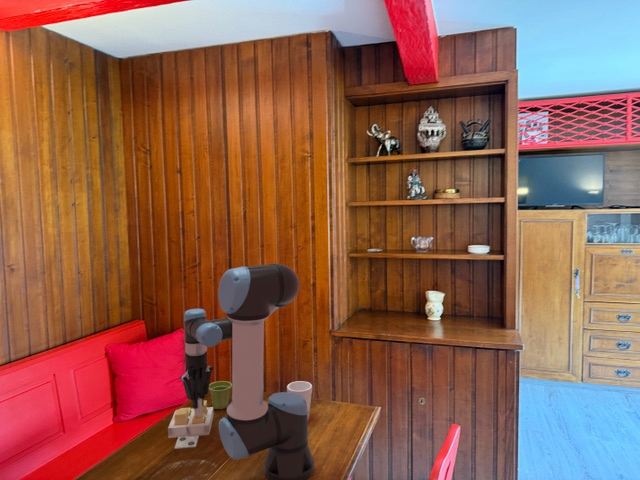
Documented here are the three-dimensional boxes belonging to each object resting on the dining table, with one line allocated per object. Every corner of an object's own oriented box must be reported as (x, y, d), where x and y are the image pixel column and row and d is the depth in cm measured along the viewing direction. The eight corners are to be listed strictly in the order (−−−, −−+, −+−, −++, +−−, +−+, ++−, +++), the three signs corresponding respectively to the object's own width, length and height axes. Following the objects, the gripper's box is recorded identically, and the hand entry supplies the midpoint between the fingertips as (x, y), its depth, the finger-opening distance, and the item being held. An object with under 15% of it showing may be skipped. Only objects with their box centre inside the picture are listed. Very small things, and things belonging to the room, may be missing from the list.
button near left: (186, 424, 155) (186, 414, 155) (175, 425, 155) (174, 414, 154) (188, 419, 159) (188, 408, 159) (177, 420, 158) (176, 409, 158)
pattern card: (195, 447, 147) (195, 445, 146) (174, 449, 146) (174, 447, 146) (198, 436, 153) (198, 434, 153) (178, 438, 153) (178, 436, 152)
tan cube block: (189, 422, 161) (189, 412, 161) (178, 423, 161) (178, 413, 160) (191, 417, 165) (190, 407, 165) (180, 418, 165) (180, 408, 164)
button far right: (205, 415, 162) (205, 405, 161) (194, 416, 161) (194, 405, 161) (207, 410, 166) (206, 400, 165) (196, 411, 165) (196, 401, 165)
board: (209, 434, 154) (208, 425, 154) (168, 438, 153) (167, 428, 152) (213, 415, 168) (213, 406, 168) (176, 418, 166) (175, 409, 166)
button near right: (204, 429, 156) (203, 418, 156) (192, 430, 156) (192, 419, 155) (205, 423, 160) (205, 413, 160) (194, 424, 159) (193, 414, 159)
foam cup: (309, 426, 159) (309, 392, 158) (285, 424, 161) (284, 390, 160) (314, 414, 169) (313, 381, 168) (291, 412, 170) (290, 380, 169)
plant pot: (225, 399, 183) (225, 379, 182) (236, 406, 176) (236, 385, 175) (204, 405, 177) (204, 385, 176) (215, 414, 170) (214, 392, 169)
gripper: (204, 345, 163) (206, 406, 165) (174, 355, 153) (176, 419, 155) (217, 349, 158) (219, 411, 160) (187, 360, 148) (189, 426, 150)
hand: (198, 415), depth 158 cm, fingers closed
